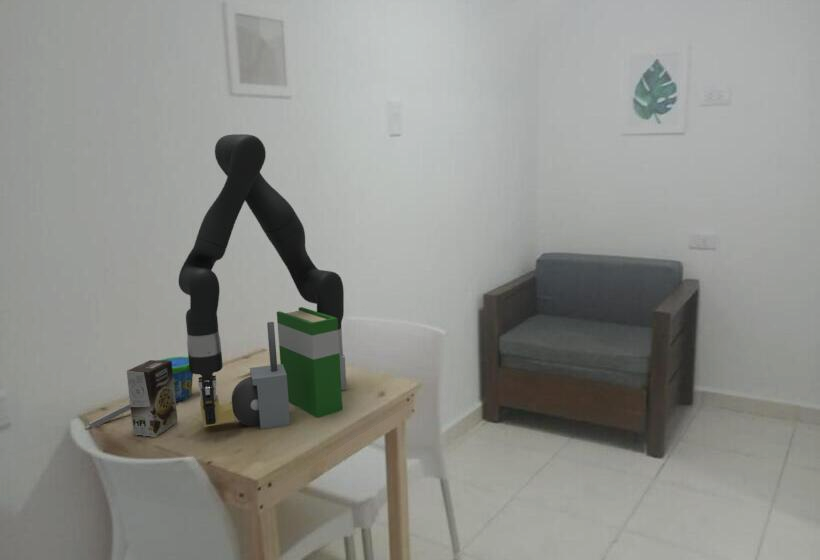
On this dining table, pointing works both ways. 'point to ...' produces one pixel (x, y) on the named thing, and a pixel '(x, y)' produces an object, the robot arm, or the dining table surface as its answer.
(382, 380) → the dining table surface
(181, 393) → the snack cup
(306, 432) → the dining table surface
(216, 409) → the wedge
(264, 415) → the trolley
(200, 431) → the dining table surface
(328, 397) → the hardback book
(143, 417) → the coffee box
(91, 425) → the caliper
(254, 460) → the dining table surface
